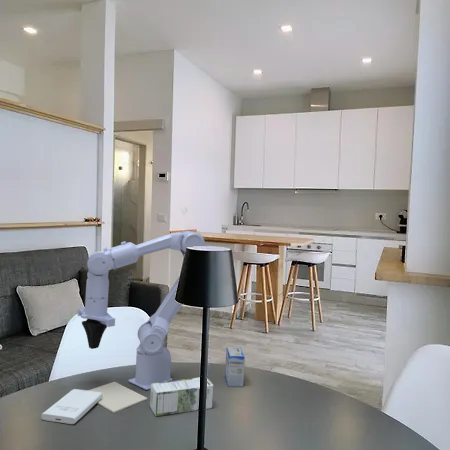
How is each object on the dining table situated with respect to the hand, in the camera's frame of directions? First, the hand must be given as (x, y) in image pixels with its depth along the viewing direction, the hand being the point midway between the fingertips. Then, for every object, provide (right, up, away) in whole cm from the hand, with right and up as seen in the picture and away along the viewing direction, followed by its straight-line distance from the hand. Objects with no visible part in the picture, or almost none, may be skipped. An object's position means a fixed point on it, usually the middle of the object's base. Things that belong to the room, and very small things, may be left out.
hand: (93, 347), depth 109 cm
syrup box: (+18, -9, -12) cm, 23 cm away
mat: (+7, -11, -5) cm, 14 cm away
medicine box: (+38, -12, +8) cm, 40 cm away
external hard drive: (-1, -11, -13) cm, 17 cm away
